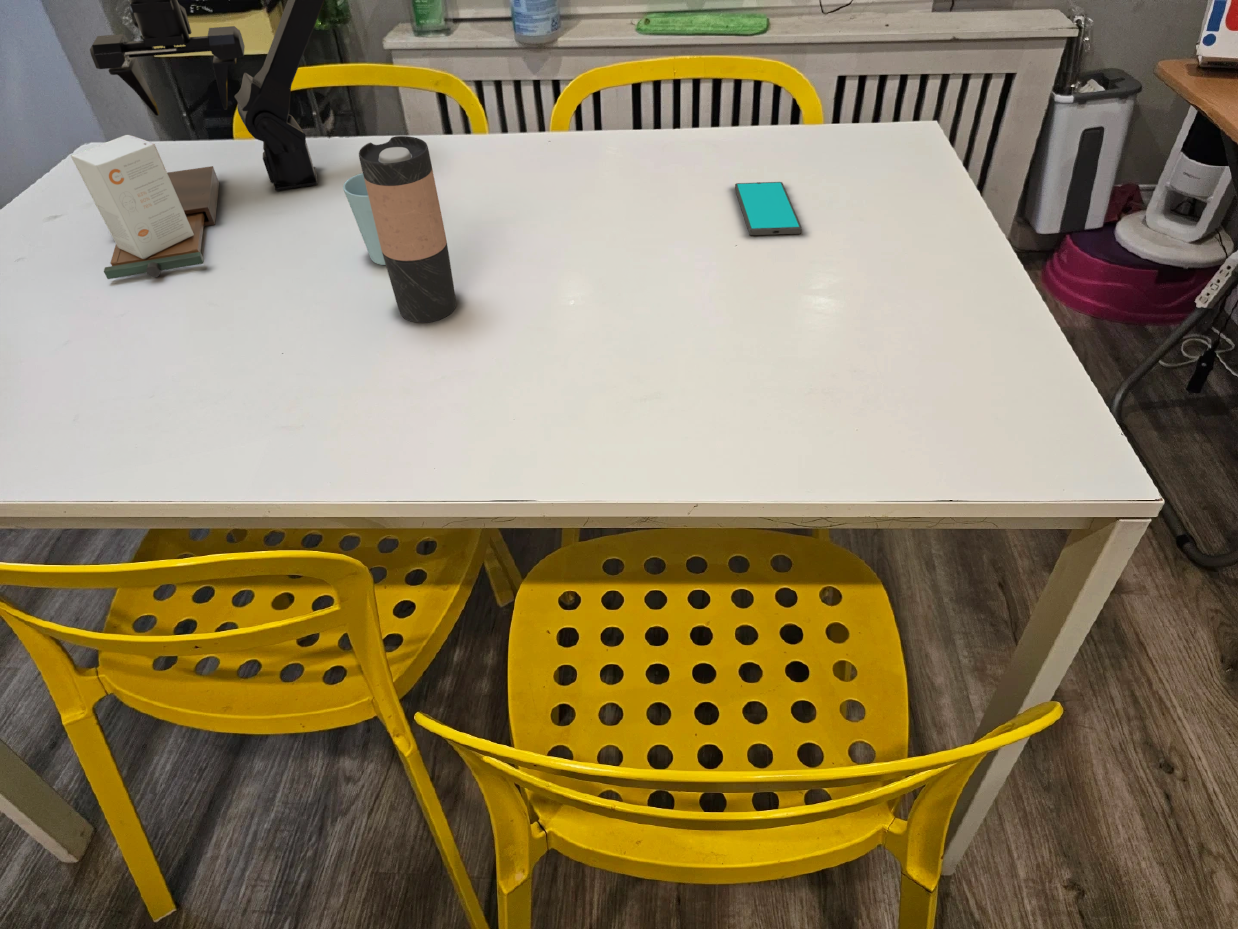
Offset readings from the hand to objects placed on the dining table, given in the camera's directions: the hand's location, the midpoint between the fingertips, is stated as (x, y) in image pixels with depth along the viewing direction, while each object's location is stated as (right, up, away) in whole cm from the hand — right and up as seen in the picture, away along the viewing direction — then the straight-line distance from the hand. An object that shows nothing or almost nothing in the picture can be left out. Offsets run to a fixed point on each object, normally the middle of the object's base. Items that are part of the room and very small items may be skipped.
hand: (192, 111), depth 115 cm
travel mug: (+38, -32, -15) cm, 52 cm away
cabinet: (-6, -12, +6) cm, 15 cm away
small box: (-2, -21, -5) cm, 21 cm away
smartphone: (+84, -14, +1) cm, 85 cm away
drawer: (-2, -21, -4) cm, 22 cm away
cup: (+31, -23, -5) cm, 38 cm away
